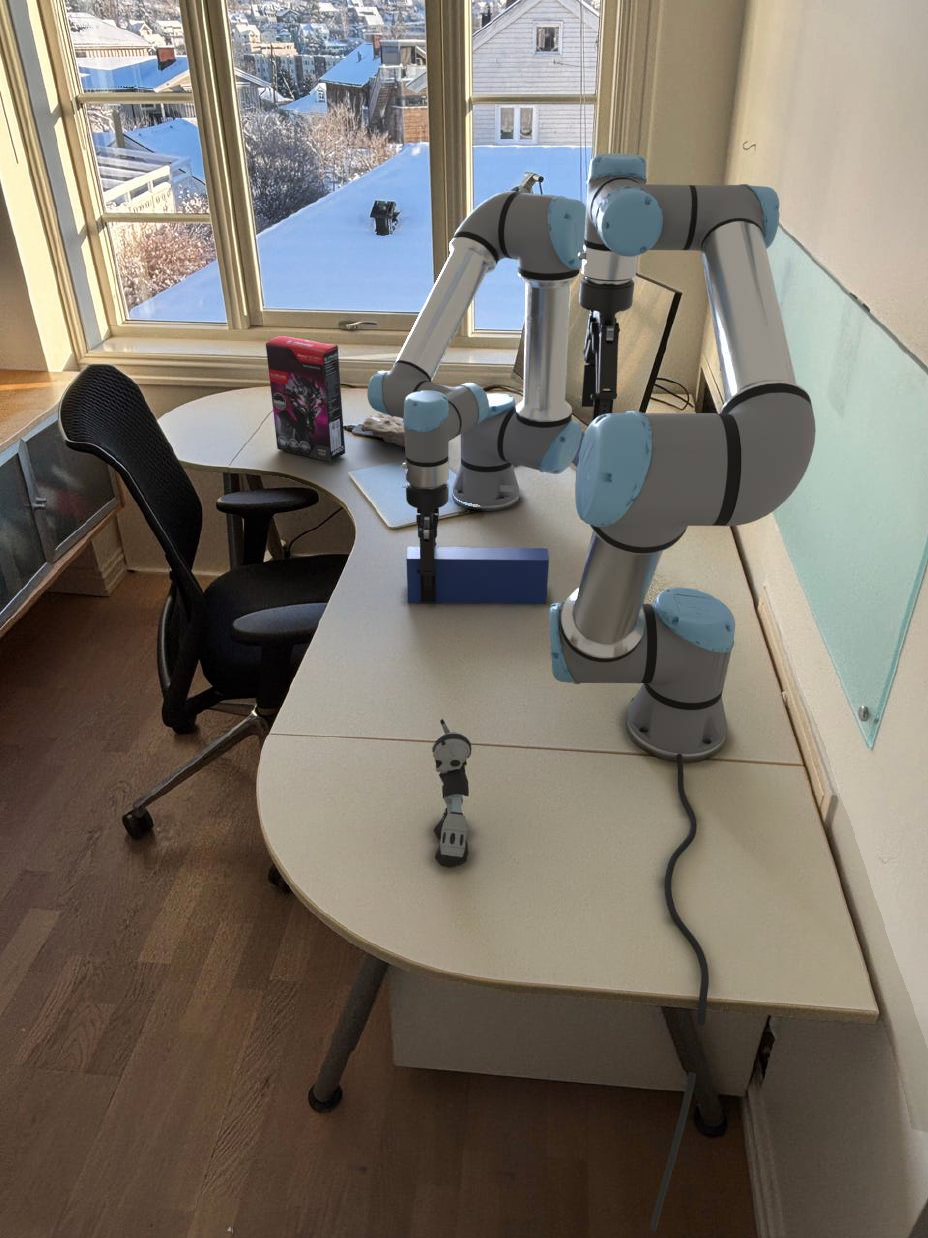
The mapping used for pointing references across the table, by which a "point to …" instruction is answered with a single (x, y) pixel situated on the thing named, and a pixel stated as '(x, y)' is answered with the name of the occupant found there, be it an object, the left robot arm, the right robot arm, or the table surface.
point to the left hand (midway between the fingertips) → (428, 593)
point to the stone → (385, 428)
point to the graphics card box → (306, 397)
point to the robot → (452, 796)
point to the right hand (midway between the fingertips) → (594, 422)
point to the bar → (483, 575)
